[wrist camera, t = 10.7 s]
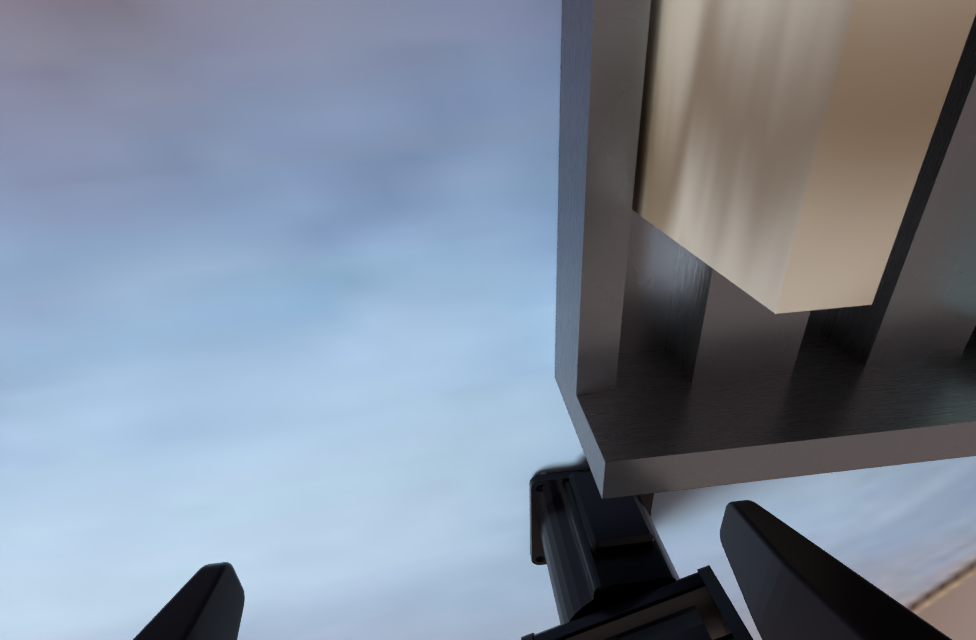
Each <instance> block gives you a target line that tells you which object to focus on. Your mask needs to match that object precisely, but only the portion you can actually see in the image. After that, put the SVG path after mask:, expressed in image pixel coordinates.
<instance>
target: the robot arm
mask: <svg viewBox="0 0 976 640" xmlns="http://www.w3.org/2000/svg"><path fill="white" fill-rule="evenodd" d="M540 484H542V485H540ZM538 485H540V486H538ZM653 495H654V493H649V494H640V495H632V496H623V497H615V498H606V499H602V497H601V495H600V492H599V490H598V487H597V485H596V482H595V479H594V477H593V474H592V472H591V469H588V470H579V471H570V472H561V473H552V474H543V475H537V476H535V477H533V478H532V479H531V480H530V554H531V559H532V562H533V563H534V564H536V565H544V564H547V567H548V571H549V575H550V580H551V584H552V589H553V593H554V597H555V602H556V606H557V611H558V615H559V619H560V624H561V625H559V626H556V627H553V628H551V629H548V630H546V631H543V632H540V633H538V634H534V633H531V634H528V635H526V636H523V637H521V640H753V638H752V637H751V635H750V633H749V632H748V630H747V628H746V626H745V625H744V623H743V621H742V620H741V618H740V616H739V615H738V613H737V611H736V610H735V608H734V606H733V604H732V603H731V601H730V599H729V598H728V596H727V594H726V593H725V591H724V589H723V588H722V586H721V584H720V582H719V581H718V579H717V577H716V576H715V574H714V572H713V571H712V569H711V567H710V566H709V565H708V566H706V567H703V568H700V569H698V572H697V573H694V574H692V575H689V576H687V577H684V578H681V579H679V576H678V574H677V572H676V570H675V568H674V566H673V564H672V562H671V560H670V558H669V556H668V553H667V551H666V549H665V547H664V545H663V543H662V541H661V539H660V537H659V535H658V533H657V531H656V528H655V526H654V524H653V522H652V520H651V518H650V514H651V508H652V501H653ZM720 539H721V543H722V546H723V548H724V551H725V553H726V556H727V558H728V561H729V563H730V565H731V568H732V570H733V573H734V575H735V577H736V580H737V582H738V585H739V587H740V589H741V592H742V594H743V597H744V599H745V602H746V604H747V606H748V609H749V611H750V614H751V616H752V618H753V621H754V623H755V625H756V627H757V630H758V632H759V634H760V636H761V638H762V640H952V639H950V638H949V637H948V636H946V635H944V634H943V633H942V632H940V631H938V630H937V629H936V628H935V627H933V626H932V625H930V624H929V623H927V622H926V621H924V620H923V619H921V618H920V617H919V616H917V615H916V614H914V613H913V612H912V611H910V610H909V609H907V608H906V607H904V606H903V605H902V604H900V603H899V602H897V601H896V600H894V599H893V598H891V597H890V596H889V595H887V594H886V593H884V592H883V591H881V590H880V589H879V588H877V587H876V586H874V585H873V584H871V583H870V582H868V581H867V580H866V579H864V578H863V577H861V576H860V575H858V574H857V573H856V572H854V571H853V570H851V569H850V568H848V567H847V566H845V565H844V564H843V563H841V562H840V561H838V560H837V559H835V558H834V557H833V556H831V555H830V554H828V553H827V552H825V551H824V550H822V549H821V548H820V547H818V546H817V545H815V544H814V543H812V542H811V541H810V540H808V539H807V538H805V537H804V536H802V535H801V534H799V533H798V532H797V531H795V530H794V529H792V528H791V527H789V526H788V525H787V524H785V523H784V522H782V521H781V520H779V519H778V518H776V517H775V516H774V515H772V514H771V513H769V512H768V511H766V510H765V509H764V508H762V507H761V506H759V505H758V504H756V503H755V502H752V501H749V500H744V501H735V502H730V503H729V504H728V505H727V506H726V510H725V513H724V517H723V521H722V525H721V529H720ZM244 599H245V597H244V590H243V587H242V585H241V583H240V581H239V579H238V577H237V575H236V572H235V570H234V568H233V566H232V565H231V564H230V563H228V562H223V563H215V564H208V565H205V566H203V567H202V568H201V569H200V570H199V571H198V572H197V573H196V574H195V575H194V576H193V577H192V578H191V579H190V580H189V581H188V582H187V583H186V584H185V585H184V586H183V587H182V588H181V589H180V591H179V592H178V593H177V594H176V595H175V596H174V597H173V598H172V599H171V600H170V601H169V602H168V603H167V604H166V605H165V606H164V607H163V608H162V610H161V611H160V612H159V613H158V614H157V615H156V616H155V617H154V618H153V619H152V620H151V621H150V622H149V623H148V624H147V625H146V626H145V627H144V629H143V630H142V631H141V632H140V633H139V634H138V635H137V636H136V637H135V638H134V639H133V640H237V637H238V632H239V627H240V622H241V617H242V612H243V607H244Z"/></svg>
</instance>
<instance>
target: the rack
mask: <svg viewBox="0 0 976 640" xmlns="http://www.w3.org/2000/svg"><path fill="white" fill-rule="evenodd" d="M650 7H651V0H562V35H561V86H560V138H559V189H558V241H557V292H556V343H555V379H556V382H557V384H558V387H559V389H560V392H561V394H562V397H563V400H564V402H565V405H566V407H567V410H568V412H569V415H570V418H571V420H572V423H573V425H574V428H575V430H576V433H577V436H578V438H579V441H580V443H581V446H582V448H583V451H584V454H585V456H586V459H587V461H588V464H589V466H590V469H591V472H592V474H593V477H594V479H595V482H596V485H597V487H598V490H599V492H600V495H601V497H602V499H606V498H615V497H623V496H632V495H640V494H649V493H658V492H666V491H675V490H684V489H692V488H701V487H710V486H718V485H727V484H735V483H744V482H753V481H761V480H770V479H779V478H787V477H796V476H804V475H813V474H822V473H830V472H839V471H848V470H856V469H865V468H874V467H882V466H891V465H899V464H908V463H917V462H925V461H934V460H943V459H951V458H960V457H969V456H976V15H975V18H974V20H973V23H972V26H971V29H970V32H969V34H968V37H967V40H966V43H965V46H964V48H963V51H962V54H961V57H960V60H959V62H958V65H957V68H956V71H955V74H954V76H953V79H952V82H951V85H950V88H949V90H948V93H947V96H946V99H945V102H944V104H943V107H942V110H941V113H940V116H939V118H938V121H937V124H936V127H935V129H934V132H933V135H932V138H931V141H930V143H929V146H928V149H927V152H926V155H925V157H924V160H923V163H922V166H921V169H920V171H919V174H918V177H917V180H916V183H915V185H914V188H913V191H912V194H911V197H910V199H909V202H908V205H907V208H906V211H905V213H904V216H903V219H902V222H901V225H900V227H899V230H898V233H897V236H896V238H895V241H894V244H893V247H892V250H891V252H890V255H889V258H888V261H887V264H886V266H885V269H884V272H883V275H882V278H881V280H880V283H879V286H878V289H877V292H876V294H875V297H874V300H873V303H872V305H863V306H852V307H842V308H831V309H821V310H811V311H800V312H790V313H779V314H775V313H774V312H772V311H771V310H769V309H768V308H767V307H765V306H764V305H763V304H761V303H760V302H758V301H757V300H756V299H754V298H753V297H751V296H750V295H749V294H747V293H746V292H745V291H743V290H742V289H740V288H739V287H738V286H736V285H735V284H734V283H732V282H731V281H729V280H728V279H727V278H725V277H724V276H723V275H721V274H720V273H718V272H717V271H716V270H714V269H713V268H712V267H710V266H709V265H707V264H706V263H705V262H703V261H702V260H701V259H699V258H698V257H696V256H695V255H694V254H692V253H691V252H690V251H688V250H687V249H685V248H684V247H683V246H681V245H680V244H679V243H677V242H676V241H674V240H673V239H672V238H670V237H669V236H667V235H666V234H665V233H663V232H662V231H661V230H659V229H658V228H656V227H655V226H654V225H652V224H651V223H650V222H648V221H647V220H645V219H644V218H643V217H641V216H640V215H639V214H637V213H636V212H634V211H633V210H632V203H633V192H634V181H635V170H636V159H637V148H638V138H639V127H640V116H641V105H642V94H643V83H644V72H645V61H646V50H647V40H648V29H649V18H650Z"/></svg>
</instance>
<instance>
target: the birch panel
mask: <svg viewBox="0 0 976 640" xmlns="http://www.w3.org/2000/svg"><path fill="white" fill-rule="evenodd" d="M975 15H976V0H651V7H650V18H649V29H648V40H647V50H646V61H645V72H644V83H643V94H642V105H641V116H640V127H639V138H638V148H637V159H636V170H635V181H634V192H633V203H632V210H633V211H634V212H636V213H637V214H639V215H640V216H641V217H643V218H644V219H645V220H647V221H648V222H650V223H651V224H652V225H654V226H655V227H656V228H658V229H659V230H661V231H662V232H663V233H665V234H666V235H667V236H669V237H670V238H672V239H673V240H674V241H676V242H677V243H679V244H680V245H681V246H683V247H684V248H685V249H687V250H688V251H690V252H691V253H692V254H694V255H695V256H696V257H698V258H699V259H701V260H702V261H703V262H705V263H706V264H707V265H709V266H710V267H712V268H713V269H714V270H716V271H717V272H718V273H720V274H721V275H723V276H724V277H725V278H727V279H728V280H729V281H731V282H732V283H734V284H735V285H736V286H738V287H739V288H740V289H742V290H743V291H745V292H746V293H747V294H749V295H750V296H751V297H753V298H754V299H756V300H757V301H758V302H760V303H761V304H763V305H764V306H765V307H767V308H768V309H769V310H771V311H772V312H774V313H775V314H779V313H790V312H800V311H811V310H821V309H831V308H842V307H852V306H863V305H872V303H873V300H874V297H875V294H876V292H877V289H878V286H879V283H880V280H881V278H882V275H883V272H884V269H885V266H886V264H887V261H888V258H889V255H890V252H891V250H892V247H893V244H894V241H895V238H896V236H897V233H898V230H899V227H900V225H901V222H902V219H903V216H904V213H905V211H906V208H907V205H908V202H909V199H910V197H911V194H912V191H913V188H914V185H915V183H916V180H917V177H918V174H919V171H920V169H921V166H922V163H923V160H924V157H925V155H926V152H927V149H928V146H929V143H930V141H931V138H932V135H933V132H934V129H935V127H936V124H937V121H938V118H939V116H940V113H941V110H942V107H943V104H944V102H945V99H946V96H947V93H948V90H949V88H950V85H951V82H952V79H953V76H954V74H955V71H956V68H957V65H958V62H959V60H960V57H961V54H962V51H963V48H964V46H965V43H966V40H967V37H968V34H969V32H970V29H971V26H972V23H973V20H974V18H975Z"/></svg>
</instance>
